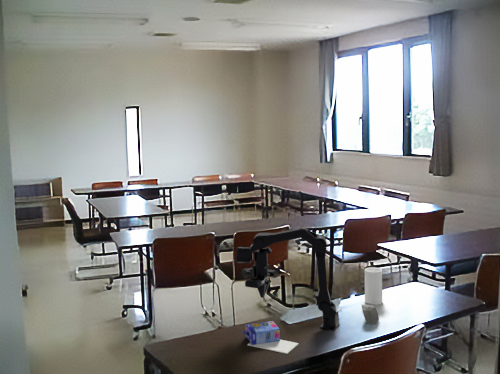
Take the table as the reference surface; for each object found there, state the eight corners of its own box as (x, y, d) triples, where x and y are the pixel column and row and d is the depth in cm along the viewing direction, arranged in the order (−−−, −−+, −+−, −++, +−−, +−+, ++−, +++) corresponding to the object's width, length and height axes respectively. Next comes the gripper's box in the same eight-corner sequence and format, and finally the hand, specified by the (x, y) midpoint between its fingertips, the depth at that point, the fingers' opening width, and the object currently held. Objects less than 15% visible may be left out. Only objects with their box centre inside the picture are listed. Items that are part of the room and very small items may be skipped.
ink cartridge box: (280, 328, 215) (245, 334, 211) (280, 341, 216) (246, 347, 212) (272, 319, 224) (239, 325, 221) (273, 332, 225) (240, 337, 221)
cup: (361, 300, 261) (361, 268, 259) (376, 297, 263) (376, 266, 261) (370, 305, 253) (370, 272, 251) (385, 303, 255) (385, 270, 253)
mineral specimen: (358, 317, 237) (362, 300, 236) (378, 322, 235) (381, 305, 234) (357, 322, 230) (361, 305, 229) (377, 328, 228) (381, 310, 227)
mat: (259, 336, 222) (259, 335, 222) (298, 344, 213) (298, 343, 213) (247, 345, 214) (247, 344, 214) (287, 354, 205) (287, 353, 205)
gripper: (256, 255, 241) (257, 288, 243) (233, 266, 226) (235, 301, 228) (277, 258, 236) (278, 292, 238) (256, 269, 220) (257, 305, 222)
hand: (262, 297), depth 231 cm, fingers closed
